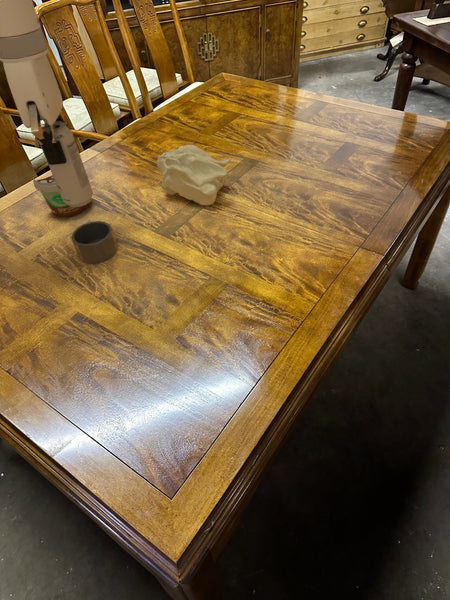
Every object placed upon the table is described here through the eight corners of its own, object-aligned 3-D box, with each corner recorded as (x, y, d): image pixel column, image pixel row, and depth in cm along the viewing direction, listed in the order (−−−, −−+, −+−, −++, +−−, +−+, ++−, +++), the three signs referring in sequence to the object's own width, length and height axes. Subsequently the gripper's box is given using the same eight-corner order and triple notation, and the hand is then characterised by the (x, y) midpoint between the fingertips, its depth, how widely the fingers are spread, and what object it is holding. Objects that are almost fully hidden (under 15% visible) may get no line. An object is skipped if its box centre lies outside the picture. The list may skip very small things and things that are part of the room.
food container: (49, 225, 102) (33, 189, 95) (46, 213, 107) (30, 178, 99) (99, 211, 105) (86, 175, 98) (94, 199, 109) (81, 164, 102)
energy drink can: (67, 193, 87) (39, 121, 76) (96, 190, 86) (71, 117, 76) (61, 210, 82) (30, 136, 72) (92, 206, 82) (65, 132, 72)
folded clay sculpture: (218, 213, 112) (244, 162, 103) (196, 229, 102) (222, 175, 93) (165, 176, 114) (185, 123, 104) (137, 189, 104) (157, 131, 94)
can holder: (75, 265, 91) (67, 247, 87) (82, 241, 97) (75, 223, 94) (115, 261, 91) (109, 243, 87) (119, 237, 97) (113, 219, 93)
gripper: (12, 32, 71) (52, 136, 83) (-23, 65, 59) (30, 180, 71) (56, 27, 71) (89, 132, 83) (30, 59, 58) (73, 176, 71)
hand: (61, 153), depth 77 cm, fingers closed on energy drink can, 6 cm apart
